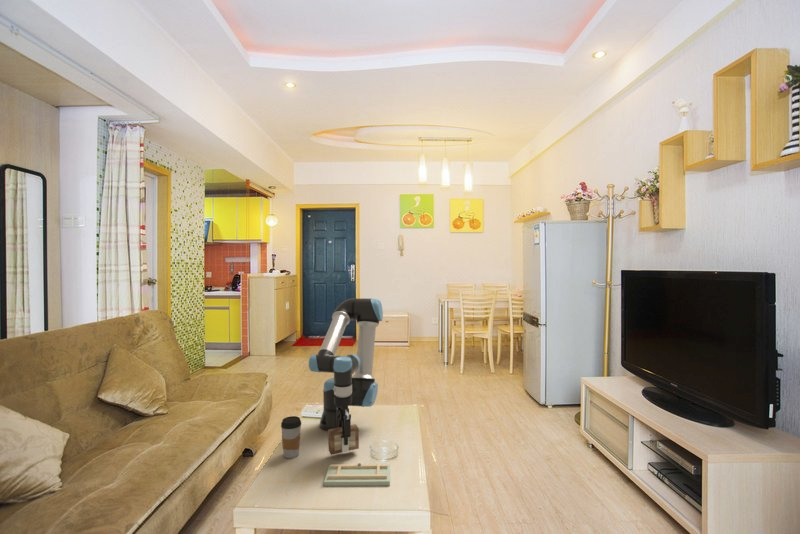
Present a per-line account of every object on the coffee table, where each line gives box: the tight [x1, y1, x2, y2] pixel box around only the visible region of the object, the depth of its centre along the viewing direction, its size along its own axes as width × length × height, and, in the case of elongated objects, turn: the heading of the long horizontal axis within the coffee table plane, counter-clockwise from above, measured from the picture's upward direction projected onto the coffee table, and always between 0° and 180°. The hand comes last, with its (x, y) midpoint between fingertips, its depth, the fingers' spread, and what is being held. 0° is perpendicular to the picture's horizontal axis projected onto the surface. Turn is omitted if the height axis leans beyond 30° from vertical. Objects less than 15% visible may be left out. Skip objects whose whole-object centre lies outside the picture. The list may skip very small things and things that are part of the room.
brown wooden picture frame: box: [327, 423, 360, 456], centre depth 164 cm, size 4×12×9 cm, turn 116°
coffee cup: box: [280, 415, 302, 459], centre depth 164 cm, size 8×8×15 cm
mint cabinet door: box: [323, 462, 391, 487], centre depth 148 cm, size 12×24×3 cm, turn 91°
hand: (343, 448), depth 164 cm, fingers closed on brown wooden picture frame, 4 cm apart
